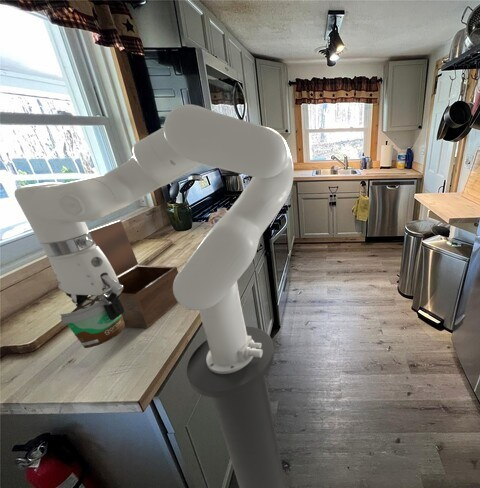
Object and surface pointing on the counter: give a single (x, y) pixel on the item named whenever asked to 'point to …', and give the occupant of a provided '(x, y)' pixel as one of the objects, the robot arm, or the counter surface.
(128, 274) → the chest
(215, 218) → the decorative jar
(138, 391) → the counter surface
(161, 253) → the counter surface
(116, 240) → the lid
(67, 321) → the food container
